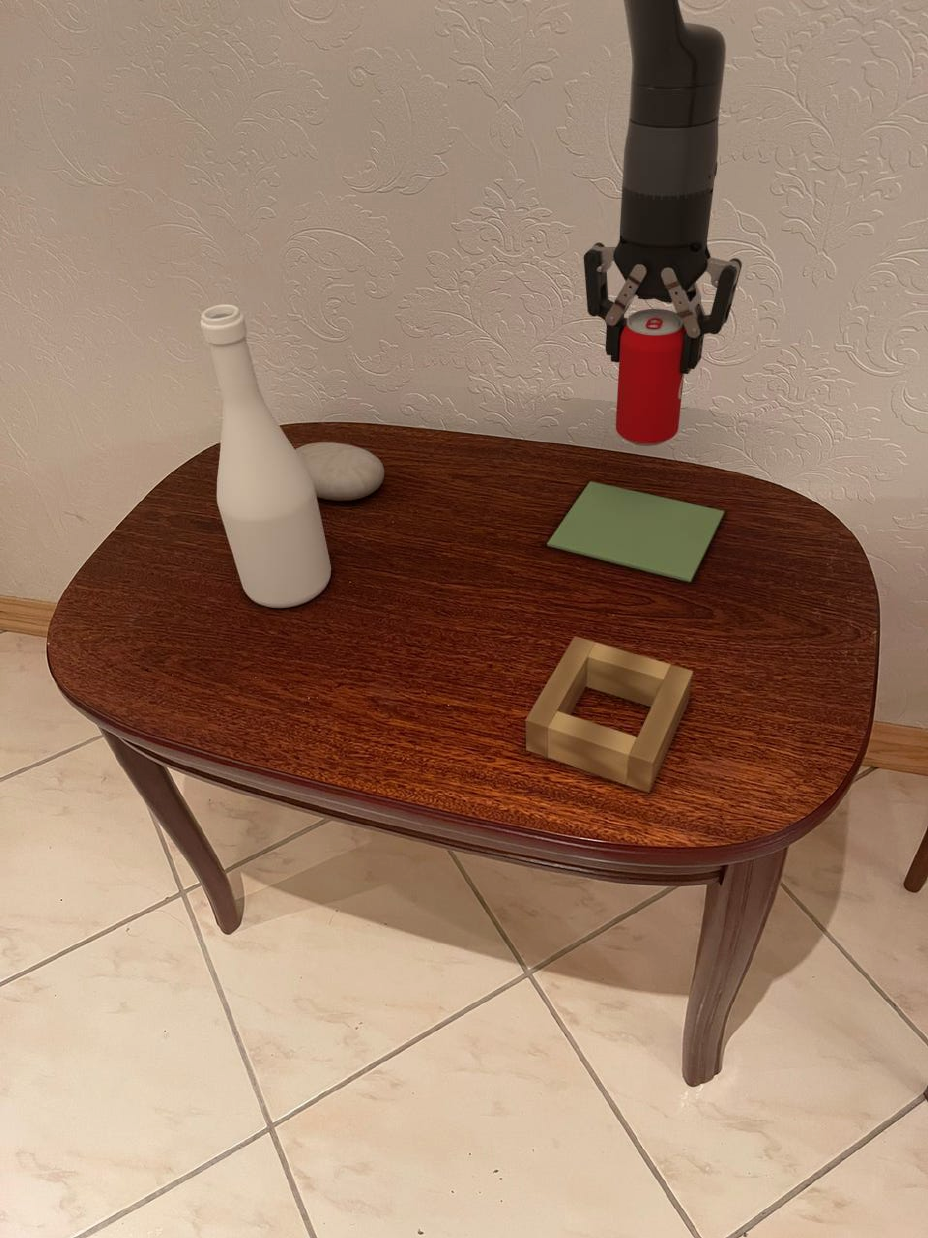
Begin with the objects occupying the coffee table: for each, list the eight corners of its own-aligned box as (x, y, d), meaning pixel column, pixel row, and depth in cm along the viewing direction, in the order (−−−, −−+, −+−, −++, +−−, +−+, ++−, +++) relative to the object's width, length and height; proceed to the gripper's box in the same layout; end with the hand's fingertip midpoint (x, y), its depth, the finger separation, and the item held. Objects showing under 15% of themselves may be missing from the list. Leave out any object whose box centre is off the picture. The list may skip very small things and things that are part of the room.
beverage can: (681, 422, 91) (695, 308, 83) (671, 453, 87) (684, 337, 79) (621, 415, 93) (628, 303, 85) (608, 446, 89) (615, 331, 81)
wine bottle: (320, 546, 100) (263, 280, 79) (343, 596, 93) (287, 320, 73) (236, 569, 97) (156, 302, 77) (254, 622, 91) (171, 346, 70)
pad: (724, 513, 100) (724, 510, 99) (690, 582, 91) (691, 579, 91) (590, 483, 105) (590, 480, 105) (547, 545, 97) (547, 543, 97)
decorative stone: (271, 495, 108) (263, 460, 104) (316, 458, 113) (309, 424, 110) (357, 522, 102) (351, 486, 99) (400, 482, 108) (395, 447, 105)
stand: (688, 701, 79) (693, 670, 77) (649, 793, 72) (653, 763, 70) (573, 666, 83) (574, 635, 81) (525, 750, 76) (525, 719, 74)
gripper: (570, 183, 74) (567, 369, 85) (744, 199, 69) (715, 395, 80) (602, 158, 79) (595, 337, 90) (766, 170, 73) (737, 359, 85)
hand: (652, 363), depth 85 cm, fingers closed on beverage can, 6 cm apart
